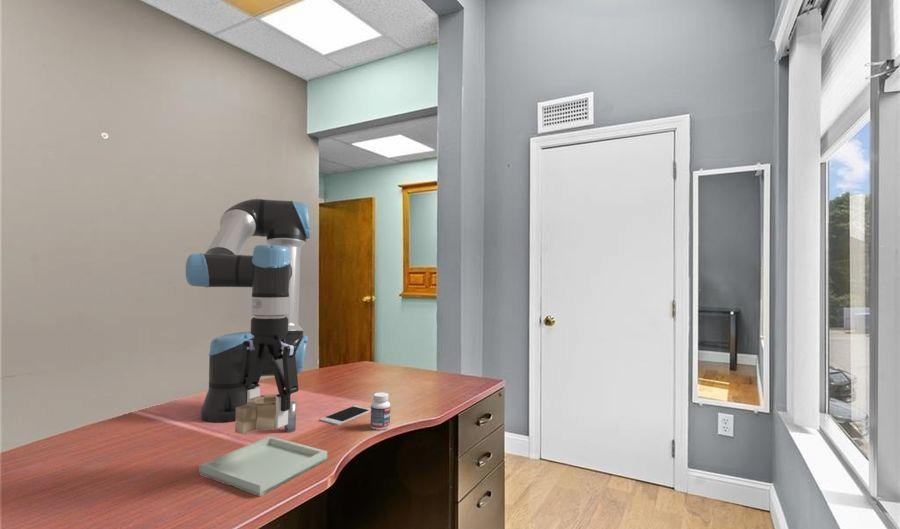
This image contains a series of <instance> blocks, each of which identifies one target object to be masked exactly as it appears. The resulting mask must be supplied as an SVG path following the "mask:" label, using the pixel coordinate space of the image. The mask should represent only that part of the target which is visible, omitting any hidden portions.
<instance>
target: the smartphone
mask: <svg viewBox="0 0 900 529" xmlns="http://www.w3.org/2000/svg"><path fill="white" fill-rule="evenodd" d="M370 411H371V407H367V406H361V405H359V404H358V405H357V404H354V405H352V406H349V407H346V408H343V409H342V410H340V411H337V412H334V413H331V414H329V415H326V416H324V417H321V418H319V422H323V423H327V424H331V425H334V426H340V425H343V424H344V423H347V422H349V421H352V420H354V419H357V418H359V417H361V416H363V415H366V414H367V413H371V412H370Z"/></svg>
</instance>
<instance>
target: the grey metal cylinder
mask: <svg viewBox="0 0 900 529" xmlns="http://www.w3.org/2000/svg"><path fill="white" fill-rule="evenodd" d="M283 430H284V432H285V433H292V432H296V430H297V402H296V401H291V400H290V409H289V410H288V424H287V425H284V429H283Z"/></svg>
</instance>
